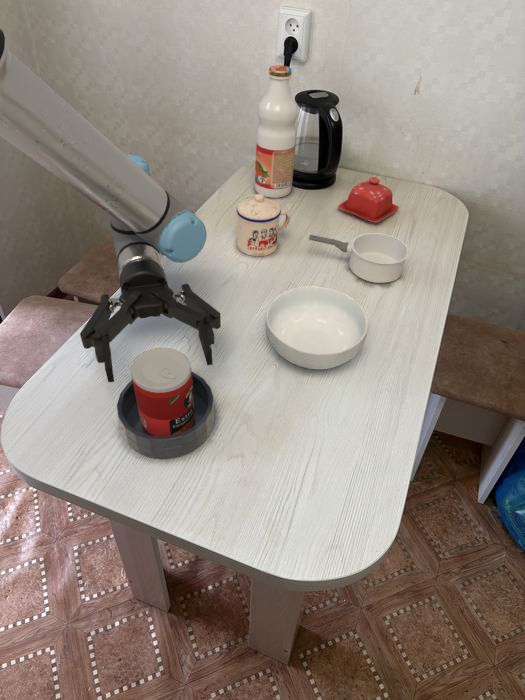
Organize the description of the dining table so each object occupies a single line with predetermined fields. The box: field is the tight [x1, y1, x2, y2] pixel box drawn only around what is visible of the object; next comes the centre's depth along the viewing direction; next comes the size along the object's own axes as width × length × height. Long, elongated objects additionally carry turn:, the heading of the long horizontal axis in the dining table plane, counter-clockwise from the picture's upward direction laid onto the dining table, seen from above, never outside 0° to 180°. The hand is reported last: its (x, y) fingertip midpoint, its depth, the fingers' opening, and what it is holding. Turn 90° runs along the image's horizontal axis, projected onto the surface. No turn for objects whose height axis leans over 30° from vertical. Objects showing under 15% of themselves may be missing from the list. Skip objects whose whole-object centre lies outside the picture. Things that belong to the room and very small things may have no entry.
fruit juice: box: [254, 64, 299, 199], centre depth 119 cm, size 9×9×28 cm
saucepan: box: [308, 232, 410, 284], centre depth 103 cm, size 12×20×6 cm, turn 76°
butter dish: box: [337, 176, 400, 224], centre depth 119 cm, size 12×12×8 cm
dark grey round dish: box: [116, 371, 215, 460], centre depth 72 cm, size 13×13×4 cm
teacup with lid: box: [235, 193, 291, 257], centre depth 105 cm, size 12×9×12 cm
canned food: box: [130, 347, 195, 436], centre depth 70 cm, size 8×8×11 cm
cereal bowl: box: [264, 285, 369, 370], centre depth 84 cm, size 17×17×7 cm
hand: (160, 366), depth 69 cm, fingers open, 13 cm apart
